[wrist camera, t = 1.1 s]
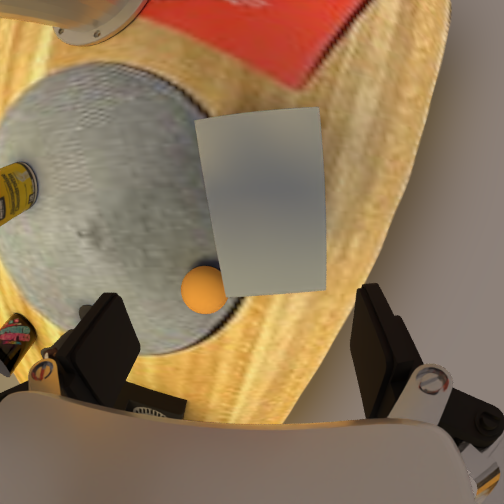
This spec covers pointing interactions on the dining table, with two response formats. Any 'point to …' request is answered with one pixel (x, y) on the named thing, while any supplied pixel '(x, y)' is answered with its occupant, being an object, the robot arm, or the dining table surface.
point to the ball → (203, 290)
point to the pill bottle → (16, 190)
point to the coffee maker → (149, 402)
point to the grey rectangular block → (266, 199)
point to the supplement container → (14, 342)
